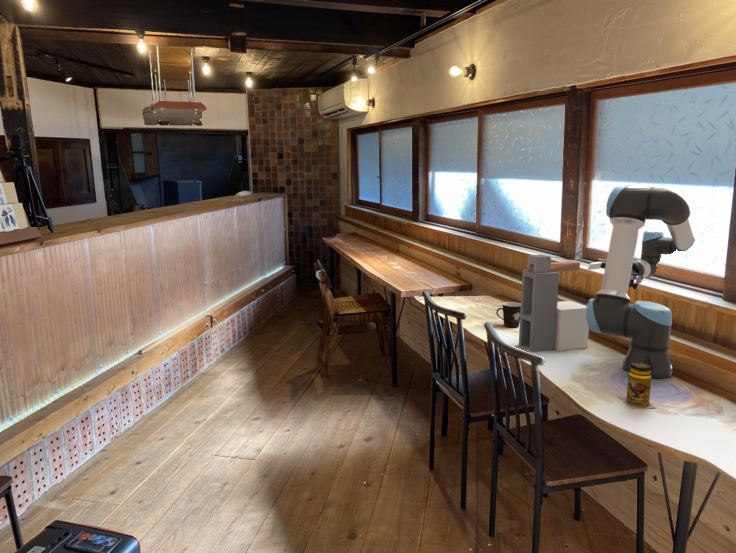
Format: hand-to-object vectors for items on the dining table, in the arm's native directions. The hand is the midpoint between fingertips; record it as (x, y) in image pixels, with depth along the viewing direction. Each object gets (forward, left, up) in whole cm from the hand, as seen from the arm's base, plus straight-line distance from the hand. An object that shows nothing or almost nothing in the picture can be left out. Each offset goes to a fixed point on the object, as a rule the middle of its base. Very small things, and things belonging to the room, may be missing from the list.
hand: (603, 275), depth 211 cm
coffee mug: (+33, +21, -28) cm, 48 cm away
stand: (+3, +26, -28) cm, 38 cm away
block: (+3, +13, -28) cm, 31 cm away
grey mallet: (+3, +20, +2) cm, 20 cm away
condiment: (-51, +27, -28) cm, 64 cm away
